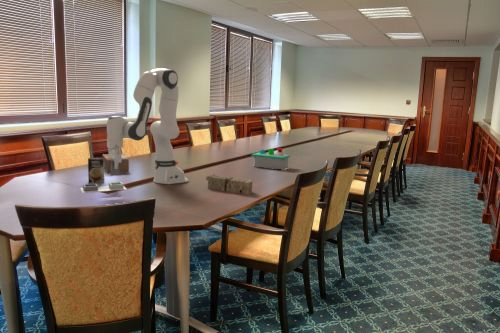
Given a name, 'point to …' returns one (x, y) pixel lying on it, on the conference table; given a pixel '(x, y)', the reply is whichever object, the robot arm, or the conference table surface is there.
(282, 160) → the control panel
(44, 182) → the conference table surface
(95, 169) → the coffee box
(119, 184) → the panel
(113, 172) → the plug
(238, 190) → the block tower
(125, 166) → the tissue box cover
